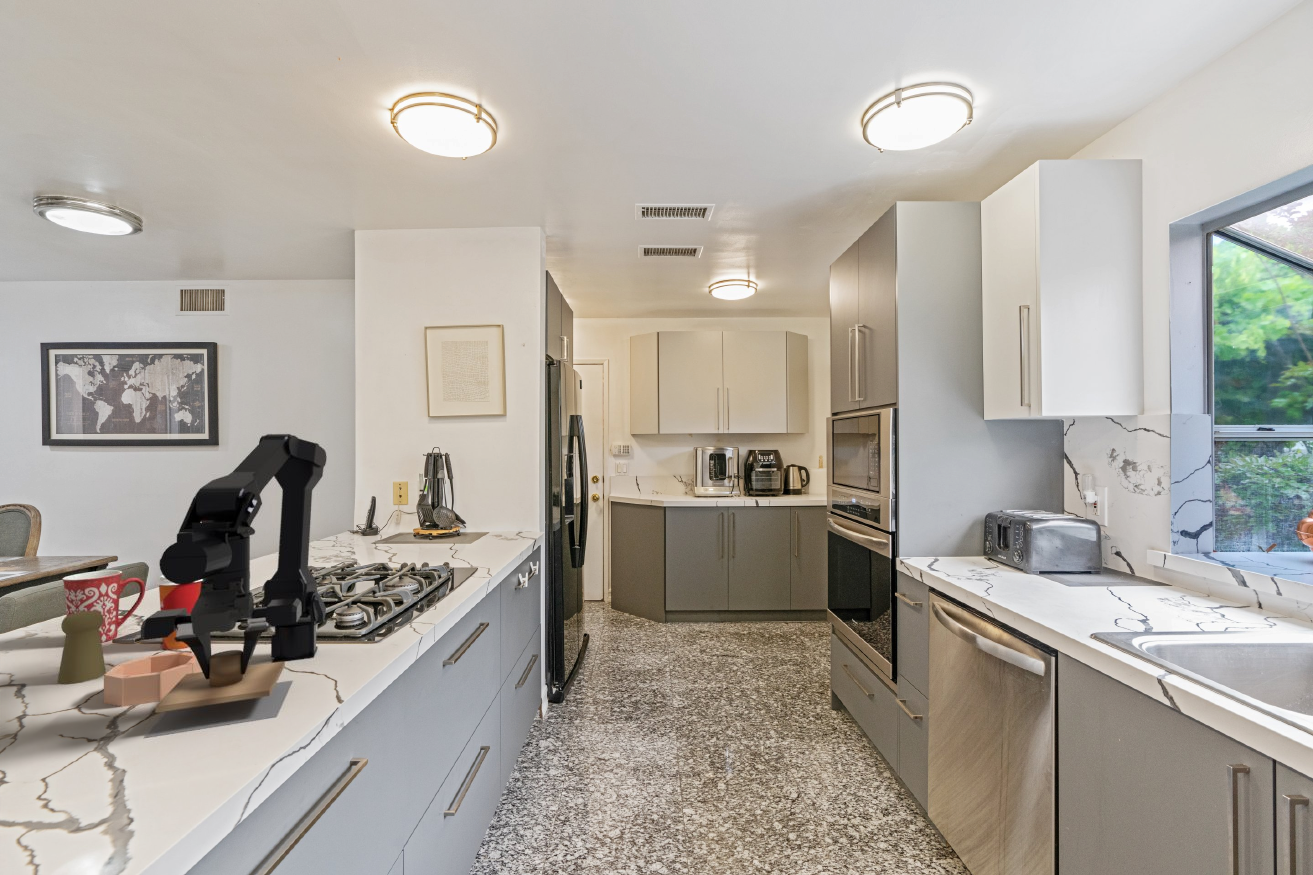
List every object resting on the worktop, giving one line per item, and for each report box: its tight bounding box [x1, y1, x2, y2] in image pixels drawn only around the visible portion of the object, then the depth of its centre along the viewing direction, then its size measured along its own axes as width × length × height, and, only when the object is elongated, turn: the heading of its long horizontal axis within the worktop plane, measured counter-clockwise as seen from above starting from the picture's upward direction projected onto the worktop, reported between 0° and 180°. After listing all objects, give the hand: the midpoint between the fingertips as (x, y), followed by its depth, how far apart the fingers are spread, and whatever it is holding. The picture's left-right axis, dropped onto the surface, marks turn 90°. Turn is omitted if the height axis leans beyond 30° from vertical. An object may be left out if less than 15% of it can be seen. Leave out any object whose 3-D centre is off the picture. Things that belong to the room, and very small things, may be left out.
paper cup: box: [156, 574, 203, 651], centre depth 120 cm, size 8×8×14 cm
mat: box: [143, 680, 294, 739], centre depth 89 cm, size 15×15×1 cm
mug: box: [61, 569, 146, 644], centre depth 125 cm, size 13×9×14 cm
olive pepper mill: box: [57, 611, 107, 685], centre depth 103 cm, size 6×6×11 cm
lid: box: [155, 649, 286, 714], centre depth 89 cm, size 13×13×5 cm
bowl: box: [103, 651, 202, 708], centre depth 96 cm, size 11×11×4 cm
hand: (226, 675), depth 89 cm, fingers closed on lid, 4 cm apart
